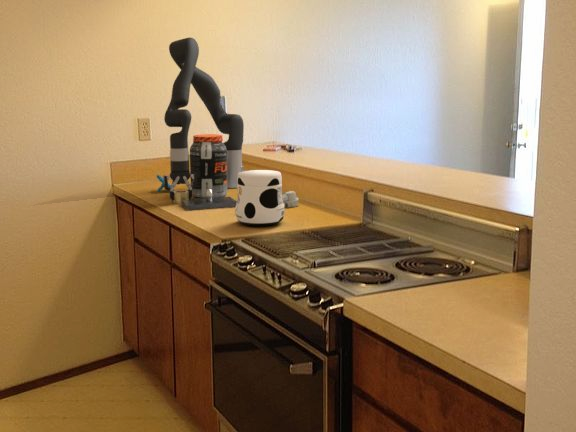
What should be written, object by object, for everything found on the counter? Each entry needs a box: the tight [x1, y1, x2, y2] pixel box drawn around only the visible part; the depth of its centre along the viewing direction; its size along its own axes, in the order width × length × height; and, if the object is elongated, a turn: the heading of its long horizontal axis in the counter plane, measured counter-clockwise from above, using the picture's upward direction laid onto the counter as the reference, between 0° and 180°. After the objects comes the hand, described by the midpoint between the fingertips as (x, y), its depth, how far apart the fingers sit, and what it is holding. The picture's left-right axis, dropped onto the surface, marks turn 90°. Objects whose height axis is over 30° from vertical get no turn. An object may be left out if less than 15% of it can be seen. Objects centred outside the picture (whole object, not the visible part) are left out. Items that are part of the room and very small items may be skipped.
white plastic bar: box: [282, 190, 299, 208], centre depth 275 cm, size 5×7×25 cm
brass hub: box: [172, 189, 189, 205], centre depth 289 cm, size 6×6×4 cm
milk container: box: [235, 169, 286, 227], centre depth 249 cm, size 17×17×18 cm
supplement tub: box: [189, 133, 228, 199], centre depth 302 cm, size 16×16×26 cm
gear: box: [156, 174, 175, 192], centre depth 315 cm, size 11×6×10 cm
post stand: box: [180, 189, 237, 211], centre depth 282 cm, size 20×12×6 cm, turn 110°
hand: (181, 199), depth 289 cm, fingers closed on brass hub, 6 cm apart
